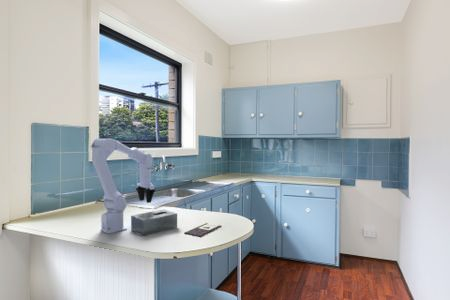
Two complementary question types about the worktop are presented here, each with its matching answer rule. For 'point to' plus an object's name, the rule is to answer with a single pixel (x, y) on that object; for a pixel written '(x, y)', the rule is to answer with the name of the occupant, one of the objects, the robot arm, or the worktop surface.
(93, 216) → the worktop surface
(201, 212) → the worktop surface
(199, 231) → the chocolate bar
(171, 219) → the cash box
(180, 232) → the worktop surface
